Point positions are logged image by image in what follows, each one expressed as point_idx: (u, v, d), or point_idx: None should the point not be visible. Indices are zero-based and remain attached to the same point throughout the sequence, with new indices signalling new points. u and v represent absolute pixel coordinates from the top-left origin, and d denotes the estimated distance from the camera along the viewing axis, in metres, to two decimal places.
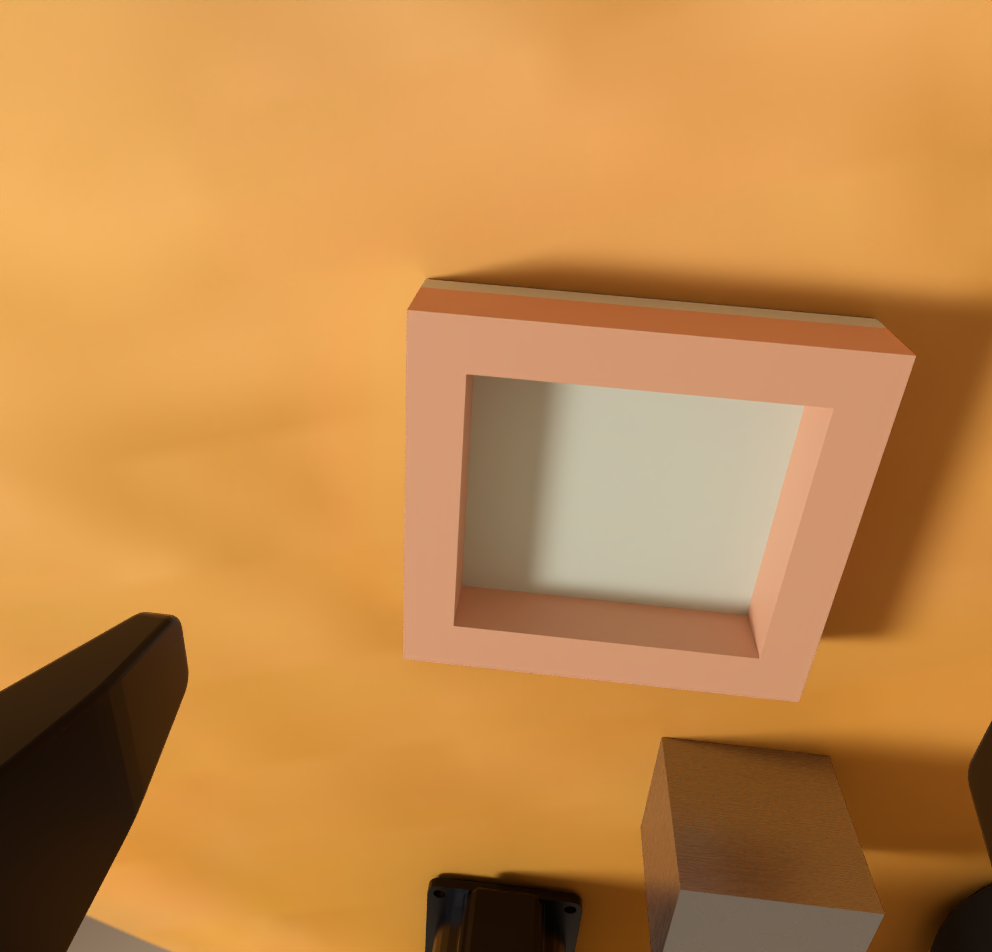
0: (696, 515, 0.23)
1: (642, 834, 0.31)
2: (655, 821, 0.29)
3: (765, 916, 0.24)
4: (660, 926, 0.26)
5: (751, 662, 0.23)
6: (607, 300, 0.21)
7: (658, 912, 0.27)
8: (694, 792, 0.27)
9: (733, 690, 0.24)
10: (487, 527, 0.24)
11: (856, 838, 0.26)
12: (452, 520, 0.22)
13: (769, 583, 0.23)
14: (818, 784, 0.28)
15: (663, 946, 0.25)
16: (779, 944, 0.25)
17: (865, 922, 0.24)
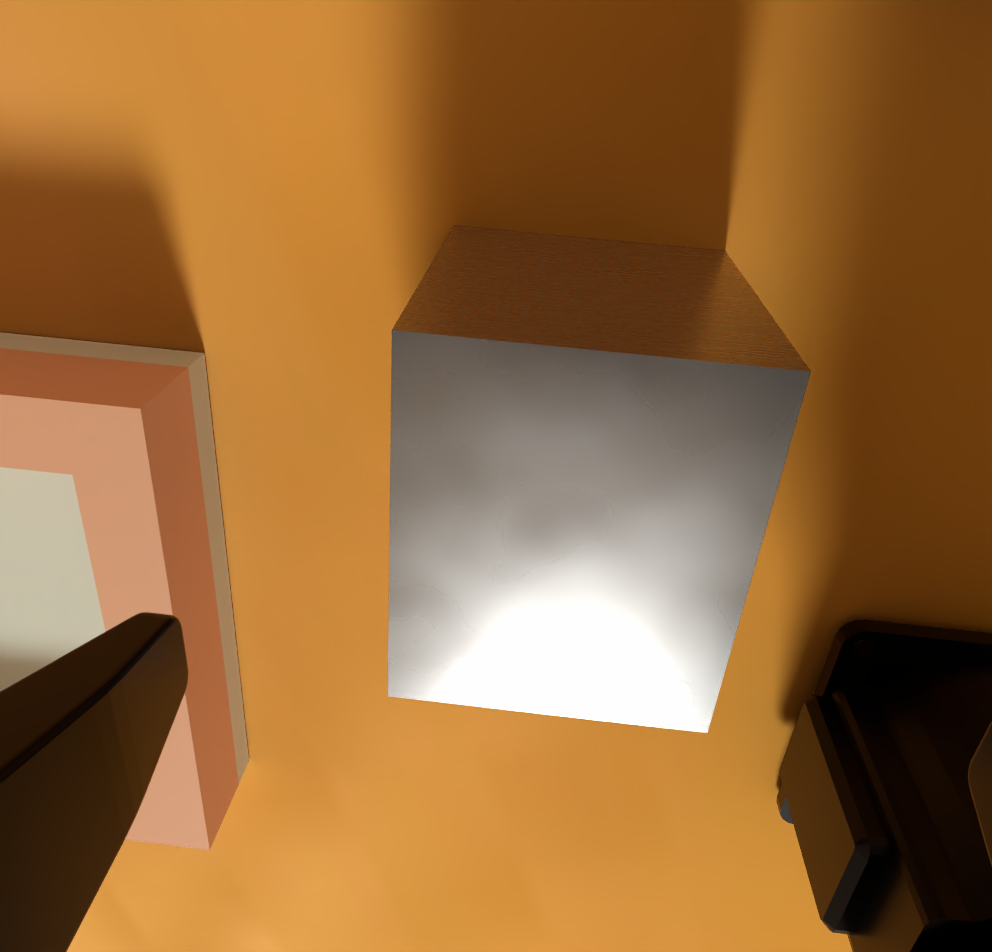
0: None
1: None
2: None
3: (443, 562, 0.11)
4: None
5: (83, 485, 0.15)
6: None
7: None
8: None
9: (147, 504, 0.15)
10: None
11: None
12: None
13: None
14: None
15: (580, 714, 0.13)
16: (541, 529, 0.11)
17: (430, 367, 0.10)
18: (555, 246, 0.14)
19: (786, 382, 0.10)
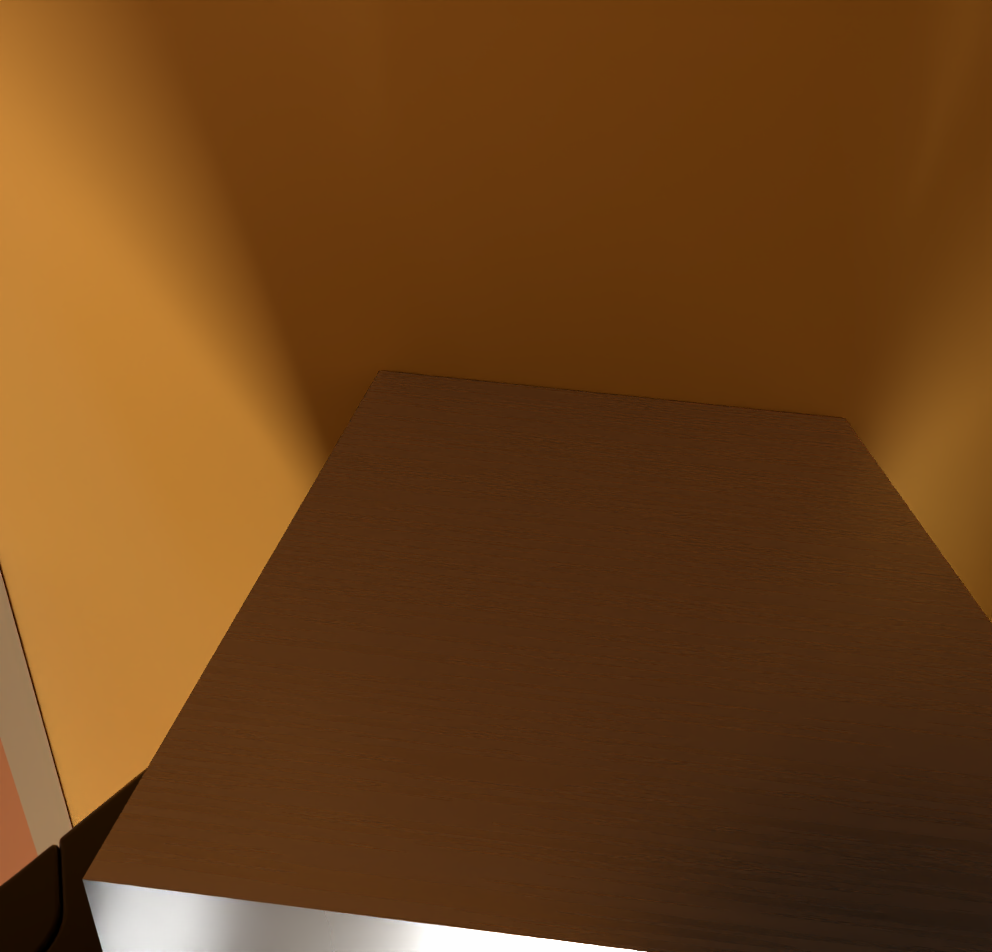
0: None
1: None
2: None
3: None
4: None
5: None
6: None
7: None
8: None
9: None
10: None
11: (274, 555, 0.06)
12: None
13: None
14: None
15: None
16: None
17: (203, 951, 0.04)
18: (551, 425, 0.08)
19: None
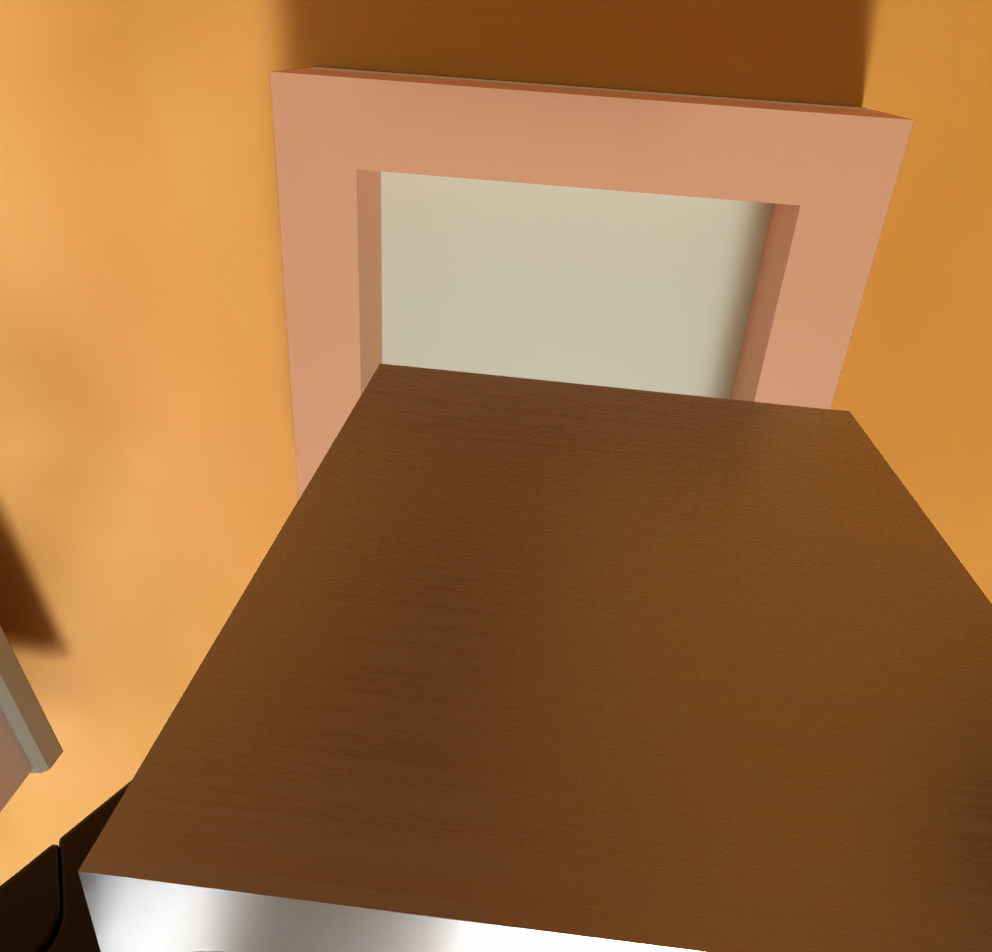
0: (590, 282, 0.17)
1: None
2: None
3: None
4: None
5: (807, 217, 0.14)
6: None
7: None
8: None
9: (869, 239, 0.14)
10: None
11: (274, 546, 0.06)
12: None
13: None
14: None
15: None
16: None
17: (201, 945, 0.04)
18: (553, 418, 0.08)
19: None
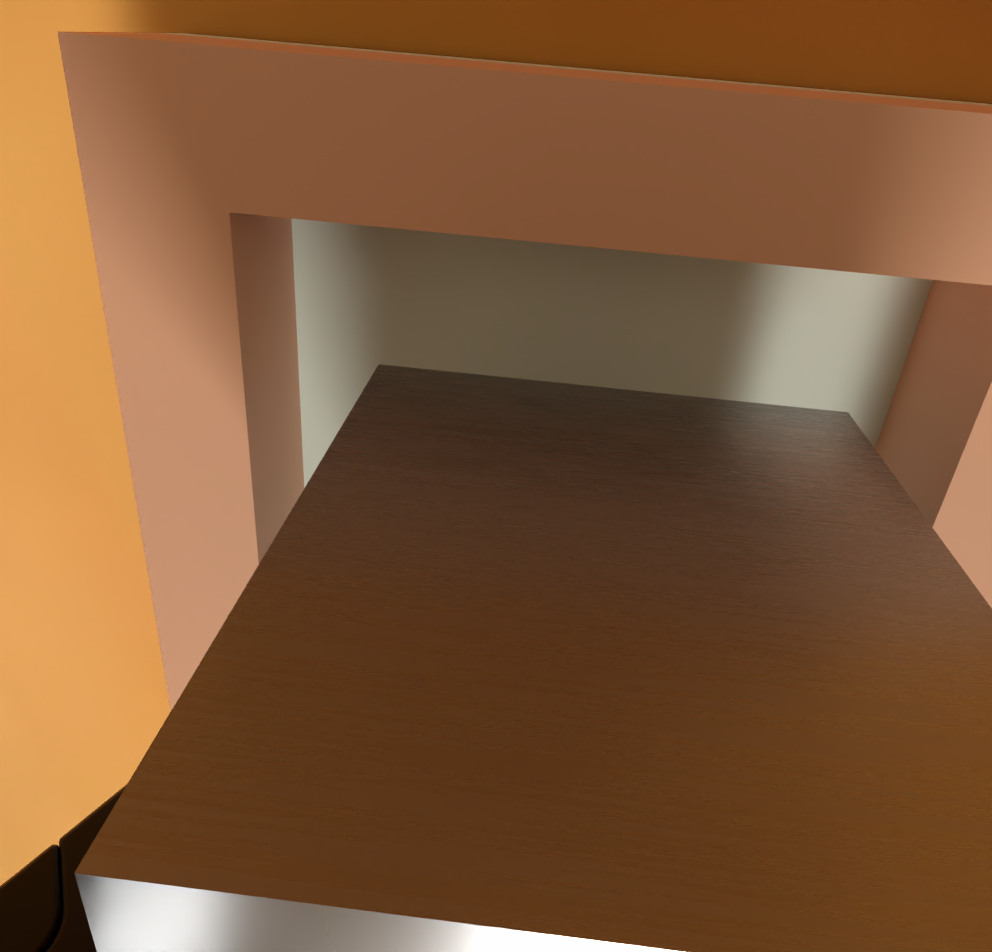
0: (630, 385, 0.11)
1: None
2: None
3: None
4: None
5: None
6: None
7: None
8: None
9: None
10: None
11: (271, 548, 0.06)
12: None
13: None
14: None
15: None
16: None
17: (197, 947, 0.04)
18: (551, 418, 0.08)
19: None
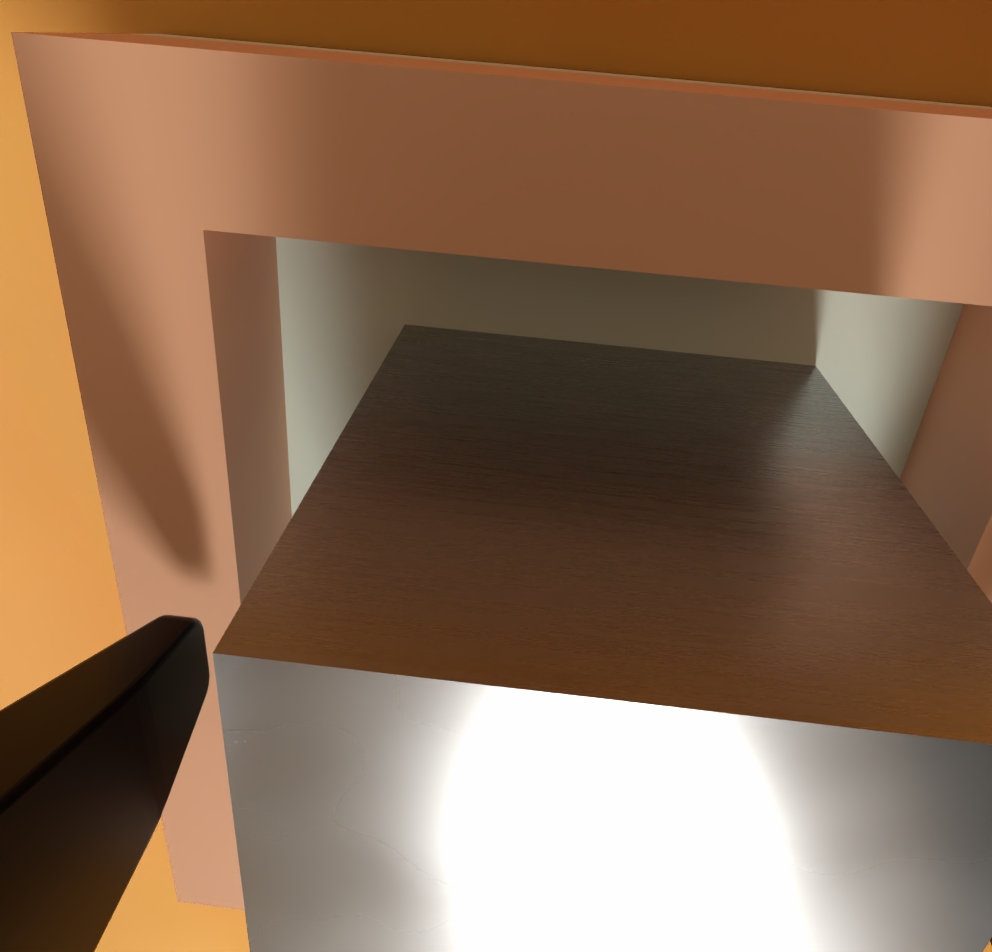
0: None
1: None
2: None
3: None
4: None
5: None
6: None
7: None
8: None
9: None
10: None
11: (329, 458, 0.07)
12: None
13: None
14: None
15: None
16: None
17: (299, 717, 0.05)
18: (557, 367, 0.09)
19: None
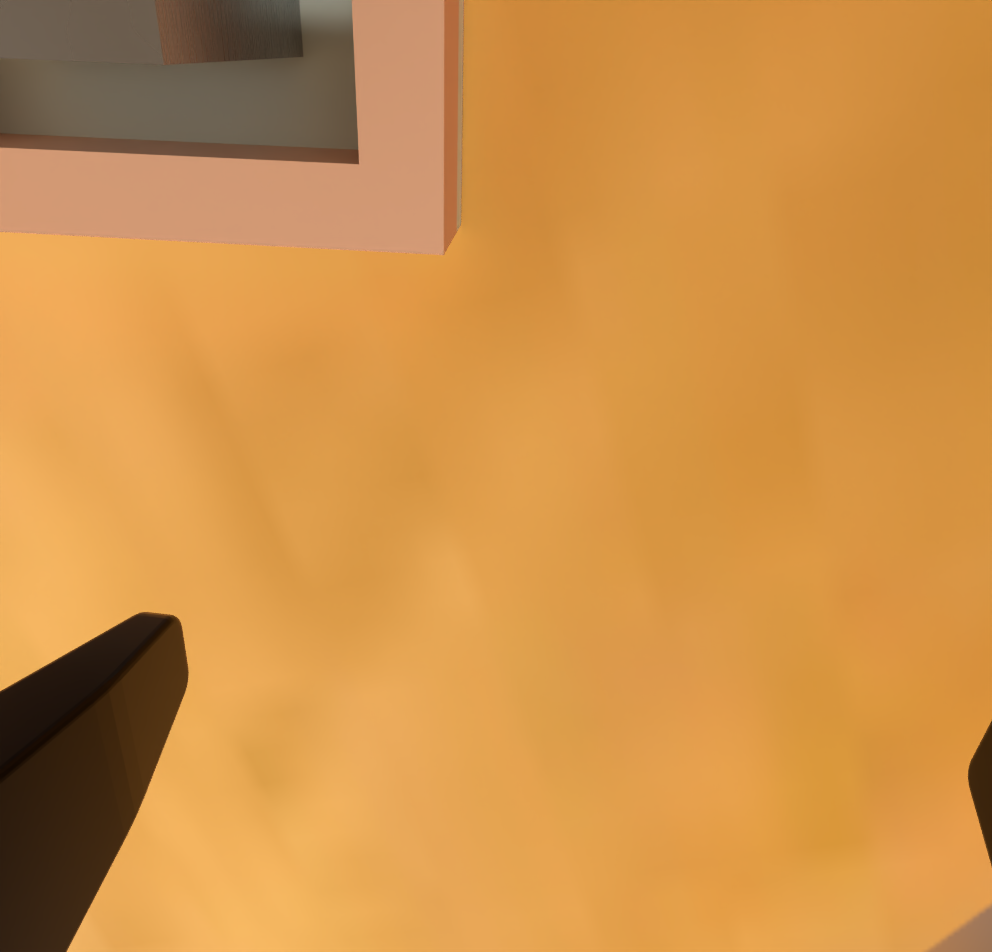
0: None
1: None
2: None
3: None
4: None
5: None
6: None
7: None
8: None
9: None
10: (264, 107, 0.16)
11: None
12: (155, 164, 0.14)
13: None
14: None
15: (13, 58, 0.10)
16: None
17: None
18: None
19: None
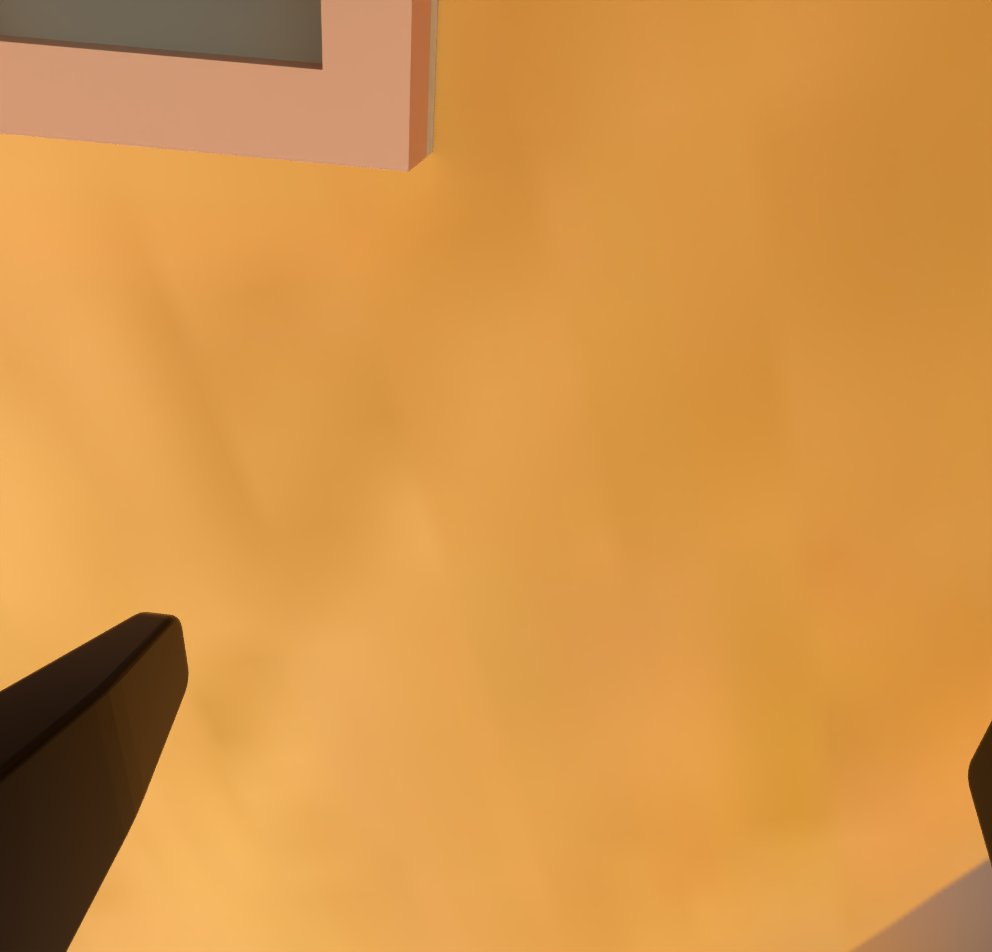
0: None
1: None
2: None
3: None
4: None
5: None
6: None
7: None
8: None
9: None
10: (231, 14, 0.15)
11: None
12: (110, 61, 0.14)
13: None
14: None
15: None
16: None
17: None
18: None
19: None
